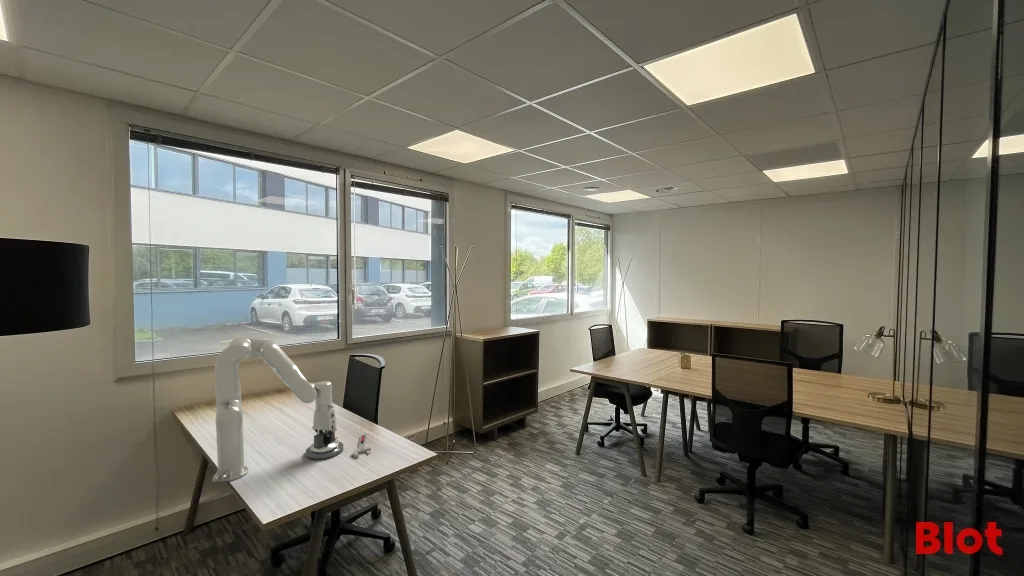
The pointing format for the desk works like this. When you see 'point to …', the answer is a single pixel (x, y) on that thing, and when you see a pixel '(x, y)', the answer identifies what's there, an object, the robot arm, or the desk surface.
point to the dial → (324, 443)
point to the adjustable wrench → (361, 447)
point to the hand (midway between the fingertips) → (324, 442)
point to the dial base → (324, 455)
